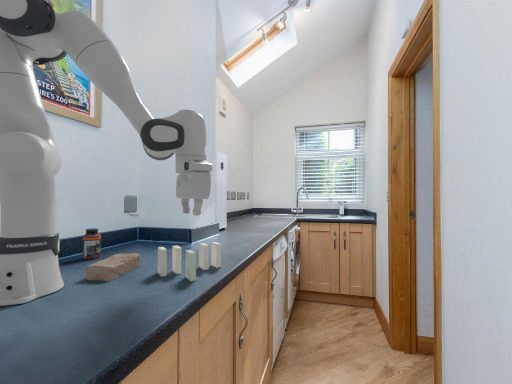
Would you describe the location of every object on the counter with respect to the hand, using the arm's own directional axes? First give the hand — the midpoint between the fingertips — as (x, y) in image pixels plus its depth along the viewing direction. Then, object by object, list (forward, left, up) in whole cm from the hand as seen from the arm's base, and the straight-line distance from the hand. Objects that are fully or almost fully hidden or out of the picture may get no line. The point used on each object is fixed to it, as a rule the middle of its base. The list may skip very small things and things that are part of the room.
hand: (191, 214), depth 80 cm
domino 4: (+12, +9, -19) cm, 24 cm away
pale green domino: (0, 0, -19) cm, 19 cm away
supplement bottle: (-24, +45, -19) cm, 54 cm away
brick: (-18, +19, -19) cm, 33 cm away
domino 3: (+7, +9, -19) cm, 22 cm away
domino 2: (-2, +9, -19) cm, 21 cm away
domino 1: (-6, +9, -19) cm, 22 cm away
